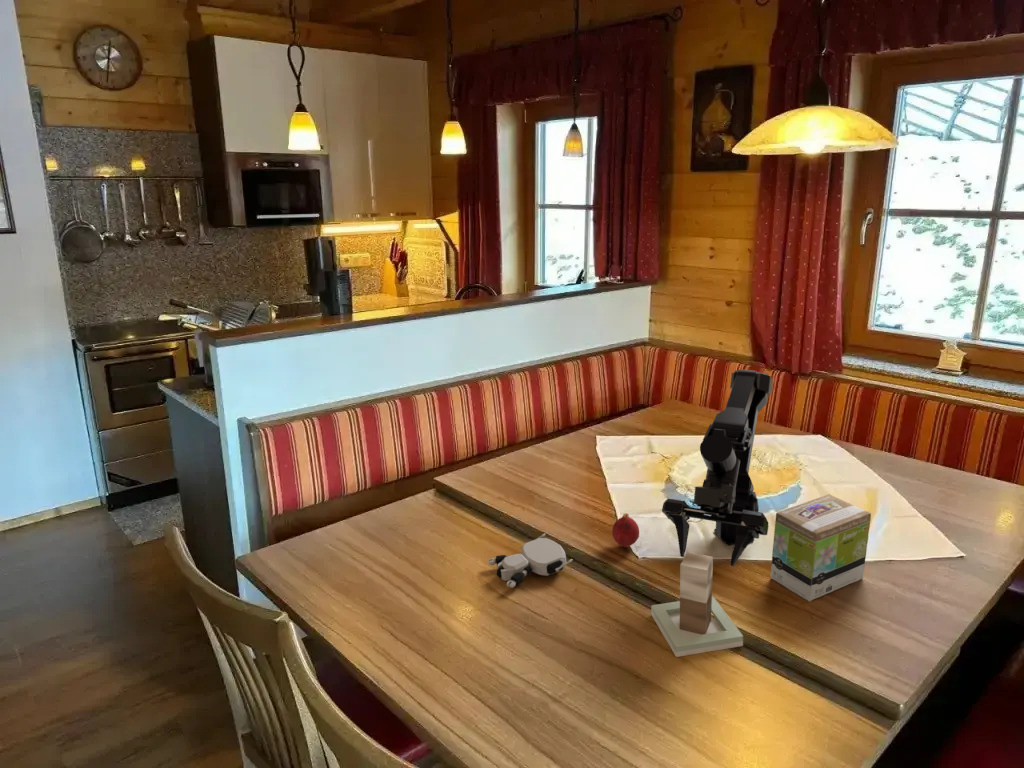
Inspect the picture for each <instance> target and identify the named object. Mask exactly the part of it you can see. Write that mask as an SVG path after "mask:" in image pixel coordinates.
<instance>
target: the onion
mask: <svg viewBox="0 0 1024 768" xmlns="http://www.w3.org/2000/svg"><path fill="white" fill-rule="evenodd" d="M612 525H613V526H612V531H611V534H612V538H613V539H614V541H615V543H617V544H618V545H619V546H621V547H623V546H624V547H623V548H629V547H630V546H632V545H634V544H635V543H636V542H637V540H638V539H639V537H640V527H639V524H638V523H637V521H635V519H633V518H632V517H630V515H629V513H626V512H625V513H623V514H622V516H621V517H620V518H618V519H617V520H616V521H615V522H614V524H612Z"/></svg>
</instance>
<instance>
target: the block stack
mask: <svg viewBox="0 0 1024 768" xmlns="http://www.w3.org/2000/svg"><path fill="white" fill-rule="evenodd" d="M713 564H714V556H710V555H706V554H700V553H694V552H691V551H687V552H685V554H684V557H683V560H682V561H681V562H680V567H679V568H680V569H679V570H680V571H679V572H680V573H679V582H680V583H679V601H680V629H681V630H685V631H689V632H693V633H697V634H701V635H703V634H706V632H707V630H708V627H709V625H710V622H711V608H712V596H713V575H714V574H713V568H714V565H713Z"/></svg>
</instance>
